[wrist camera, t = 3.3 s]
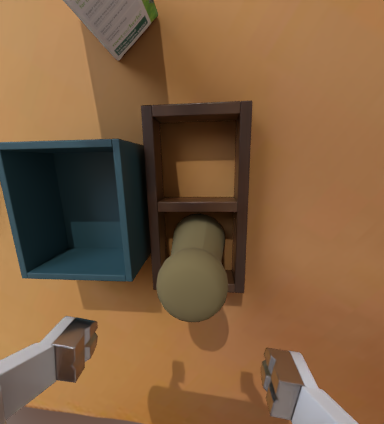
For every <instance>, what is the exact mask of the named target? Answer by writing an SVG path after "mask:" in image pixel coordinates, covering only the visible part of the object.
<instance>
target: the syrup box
mask: <svg viewBox="0 0 384 424" xmlns="http://www.w3.org/2000/svg"><path fill="white" fill-rule="evenodd" d="M63 1H64V2H65V3H66V4H67V5H68V6H69V7H70V9H71V10H72V11H73V12H74V13H75V14H76V15H77V16H78V18H79V19H80V20H81V21H82V22H83V23H84V24H85V25H86V27H87V28H88V29H89V30H90V31H91V32H92V33H93V34H94V36H95V37H96V38H97V39H98V40H99V41H100V42H101V43H102V45H103V46H104V47H105V48H106V49H107V50H108V51H109V52H110V53H111V55H112V56H113V57H114V58H115V59H116V60H118V61H119V60H120V59H121V58H122V57H123V55H124V54H125V53H126V52H127V50H128V49H129V48H130V47H131V46H132V45H133V44H134V43H135V42H136V41H137V39H138V38H139V37H140V36H141V35H142V34H143V32H144V31H145V30H146V29H147V28H148V27H149V25H150V24H151V23H152V22H153V21H154V19H155V18H156V17H157V16H158V12H157V9H156V7H155V4H154V1H153V0H63Z"/></svg>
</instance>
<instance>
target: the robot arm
mask: <svg viewBox="0 0 384 424" xmlns="http://www.w3.org/2000/svg"><path fill="white" fill-rule="evenodd" d="M97 328H98V326H97V322H96V321H92V320H87V319H82V318H75V317H69V316H66V317H64V318H63V319H62V320H61V321H60V322H59V323H58V324H57V325H56V326H55V327H54V328H53V329H52V330H51V331H50V332H49V333H48V334H47V335H46V337H45V338H44V339H43V340H42V341H41V342H40V343H34V344H32V345H30V346H28V347H26V348H24V349H22V350H20V351H18V352H16V353H14V354H12V355H10V356H8V357H6V358H4V359H2V360H0V424H6V420H7V419H8V418H9V417H11V416H12V415H13V414H15V413H16V412H17V411H18V410H20V409H21V408H22V407H24V406H25V405H26V404H27V403H29V402H30V401H31V400H33V399H34V398H35V397H36V396H38V395H39V394H40V393H42V392H43V391H44V390H45V389H47V388H48V387H49V386H51V385H52V384H53V383H54V382H56V380H60V381H68V382H75V383H76V381H77V379H78V378H79V376H80V374H81V373H82V371H83V370H84V368H85V362H86V361H87V360H89V359H90V358H91V356H92V355H93V353H94V350H95V348H96V345H97V337H98V336H97V334H96V333H95V331H96V330H97ZM264 356H265V360H264V361H263V362H262V365H261V380H262V385H263V388H264V389H265V390H266V391H267V395H266V401H267V405H268V409H269V413H270V416H273V417H277V418H282V419H287V420H292V421H291V422H292V423H293V424H358V423H357V422H356V421H355V420H354V419H353V418H352V417H351V416H350V415H349V414H348V413H347V412H346V411H345V410H344V409H343V408H342V407H340V406H339V405H338V404H337V403H336V402H335V401H334V400H333V399H332V398H331V397H330V396H329V395H328V394H327V393H326V392H325V391H324V390H322V389H319V388H318V386H317V384H316V382H315V380H314V378H313V376H312V374H311V372H310V370H309V368H308V366H307V364H306V362H305V360H304V358H303V356H302V354H301V353H300V352H294V351H287V350H280V349H273V348H266V349H265V352H264Z"/></svg>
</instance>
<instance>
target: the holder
mask: <svg viewBox="0 0 384 424" xmlns="http://www.w3.org/2000/svg"><path fill="white" fill-rule="evenodd" d="M141 113H142V128H143V142H144V157H145V172H146V186H147V201H148V216H149V230H150V245H151V260H152V274H153V289H154V290H157V289H156V283H157V277H158V272H159V270H160V269H161V267H162V265H163V263H164V261H165V260H166V259H167V255H166V235H165V215H164V212H234V217H233V253H232V270H225V271H226V273H227V278H228V288H229V289H228V292H232V293H234V292H235V293H244V284H245V260H246V237H247V214H248V191H249V168H250V145H251V122H252V101H241V102H240V101H234V102H211V103H188V104H166V105H143V106H141ZM230 120H236V145H235V181H234V197H164V195H163V175H162V155H161V135H160V123H175V122H202V121H230Z"/></svg>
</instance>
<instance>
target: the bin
mask: <svg viewBox="0 0 384 424" xmlns="http://www.w3.org/2000/svg"><path fill="white" fill-rule="evenodd" d="M0 182H1V186H2V191H3V195H4V200H5V204H6V208H7V213H8V217H9V222H10V226H11V231H12V235H13V239H14V244H15V248H16V253H17V257H18V261H19V266H20V270H21V275H22V278H31V279H64V280H97V281H129V282H132V281H133V280H134V278H135V277H136V275H137V274H138V272H139V270H140V269H141V267H142V266H143V264H144V263H145V261H146V260H147V258H148V257H149V255H150V254H151V245H150V230H149V216H148V201H147V186H146V172H145V157H144V146H143V145H140V144H136V143H132V142H129V141H125V140H121V139H95V140H62V141H29V142H0Z"/></svg>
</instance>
